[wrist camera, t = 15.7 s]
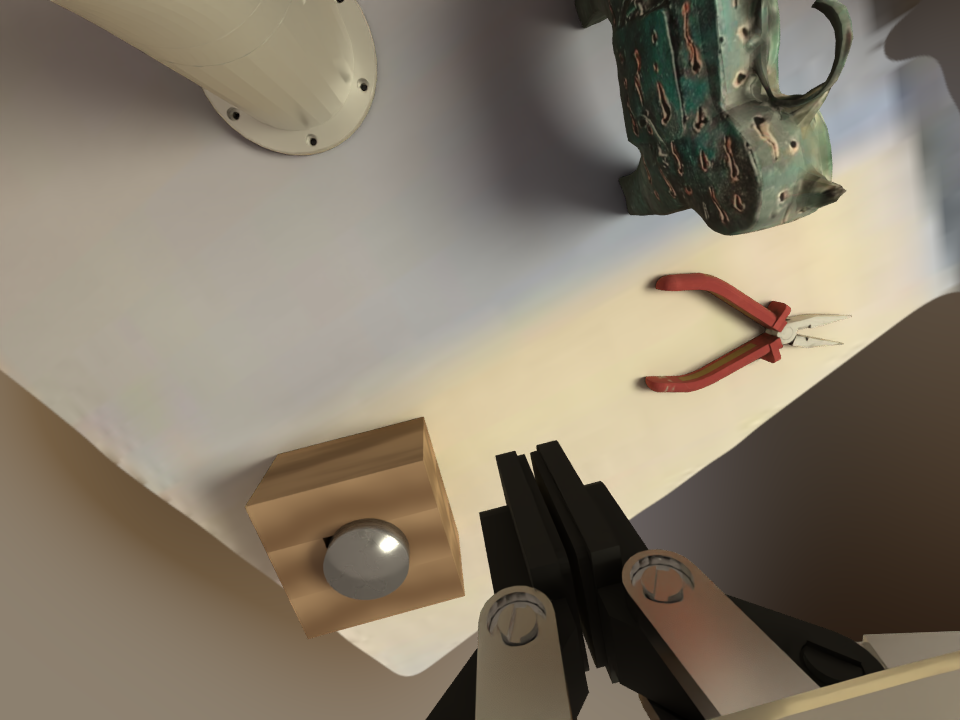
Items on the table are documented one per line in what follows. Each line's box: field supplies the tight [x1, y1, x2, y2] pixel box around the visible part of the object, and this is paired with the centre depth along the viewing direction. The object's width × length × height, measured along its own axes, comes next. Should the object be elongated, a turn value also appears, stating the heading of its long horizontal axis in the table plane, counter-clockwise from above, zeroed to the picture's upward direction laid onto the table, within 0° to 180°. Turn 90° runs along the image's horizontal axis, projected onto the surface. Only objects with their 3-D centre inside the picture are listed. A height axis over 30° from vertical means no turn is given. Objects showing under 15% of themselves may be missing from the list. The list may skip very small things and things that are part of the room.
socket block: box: [245, 417, 465, 639], centre depth 40 cm, size 14×14×8 cm
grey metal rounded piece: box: [323, 518, 410, 600], centre depth 39 cm, size 7×7×9 cm
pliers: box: [645, 273, 852, 392], centre depth 42 cm, size 12×20×3 cm, turn 90°
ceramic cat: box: [575, 0, 853, 236], centre depth 26 cm, size 20×6×20 cm, turn 21°
